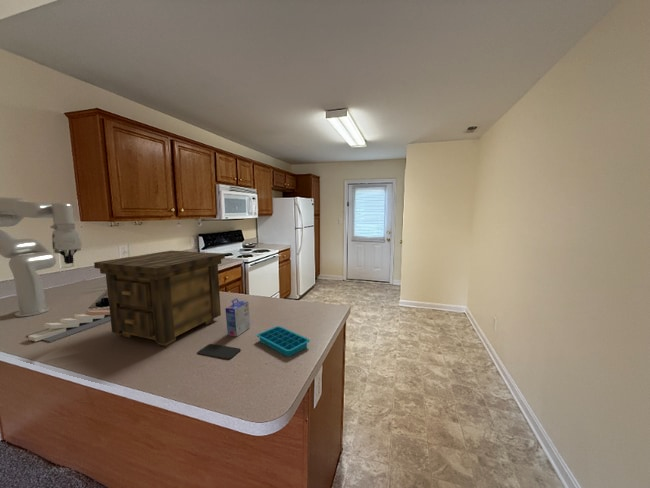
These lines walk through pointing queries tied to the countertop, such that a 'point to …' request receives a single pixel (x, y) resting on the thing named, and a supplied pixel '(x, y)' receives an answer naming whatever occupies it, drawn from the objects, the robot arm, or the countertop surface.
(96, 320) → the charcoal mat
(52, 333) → the ivory tile
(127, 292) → the wooden nightstand
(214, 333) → the countertop surface
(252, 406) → the countertop surface
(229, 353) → the phone
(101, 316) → the ivory tile
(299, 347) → the ice cube tray
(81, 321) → the ivory tile
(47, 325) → the ivory tile
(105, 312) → the terracotta tile
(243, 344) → the countertop surface
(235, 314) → the ink cartridge box
